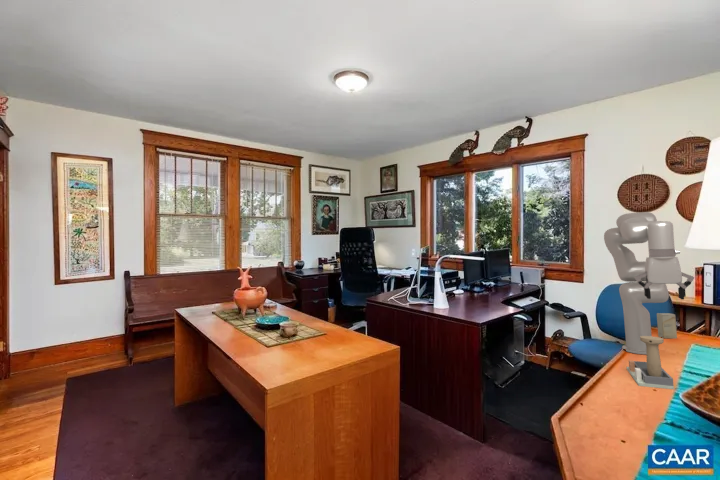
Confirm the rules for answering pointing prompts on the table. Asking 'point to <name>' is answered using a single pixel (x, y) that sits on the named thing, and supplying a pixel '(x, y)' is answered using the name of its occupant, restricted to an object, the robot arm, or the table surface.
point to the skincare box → (666, 325)
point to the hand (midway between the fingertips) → (664, 298)
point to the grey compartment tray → (643, 378)
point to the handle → (653, 354)
